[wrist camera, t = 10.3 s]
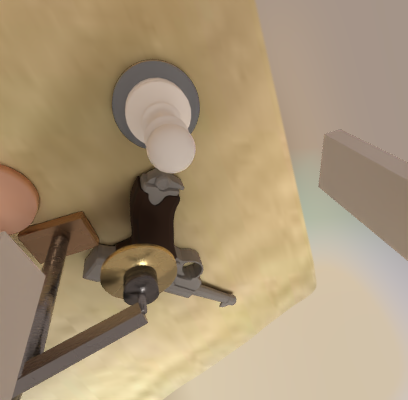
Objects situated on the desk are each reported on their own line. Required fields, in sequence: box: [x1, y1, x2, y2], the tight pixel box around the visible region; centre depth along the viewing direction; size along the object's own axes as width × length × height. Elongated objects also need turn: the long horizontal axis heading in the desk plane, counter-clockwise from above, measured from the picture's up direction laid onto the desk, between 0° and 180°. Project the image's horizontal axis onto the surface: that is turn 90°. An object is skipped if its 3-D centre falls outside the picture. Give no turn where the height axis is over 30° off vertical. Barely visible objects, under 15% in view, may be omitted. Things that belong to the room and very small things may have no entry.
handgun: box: [83, 168, 236, 307], centre depth 32 cm, size 3×24×15 cm
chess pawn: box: [125, 77, 196, 173], centre depth 17 cm, size 5×5×9 cm
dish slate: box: [112, 59, 200, 148], centre depth 21 cm, size 7×7×1 cm
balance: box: [12, 211, 177, 398], centre depth 21 cm, size 22×6×16 cm, turn 100°
